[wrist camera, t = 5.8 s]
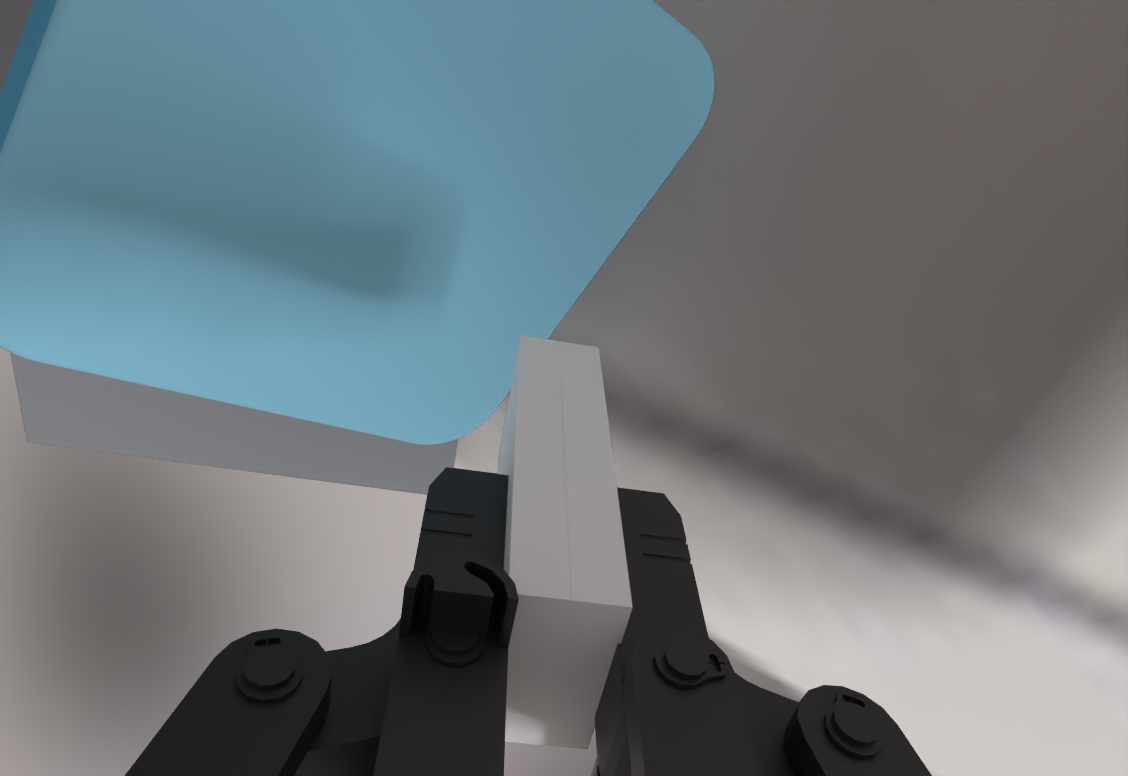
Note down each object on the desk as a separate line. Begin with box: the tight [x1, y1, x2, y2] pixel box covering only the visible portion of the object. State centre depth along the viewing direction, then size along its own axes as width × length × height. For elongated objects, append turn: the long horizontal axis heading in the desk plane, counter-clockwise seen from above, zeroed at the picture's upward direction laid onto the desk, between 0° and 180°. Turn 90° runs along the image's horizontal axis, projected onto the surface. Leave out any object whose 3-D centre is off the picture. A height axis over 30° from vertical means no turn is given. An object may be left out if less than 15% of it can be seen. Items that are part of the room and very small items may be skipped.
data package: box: [0, 0, 715, 445], centre depth 18 cm, size 12×4×12 cm
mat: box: [0, 0, 457, 495], centre depth 23 cm, size 14×20×1 cm
